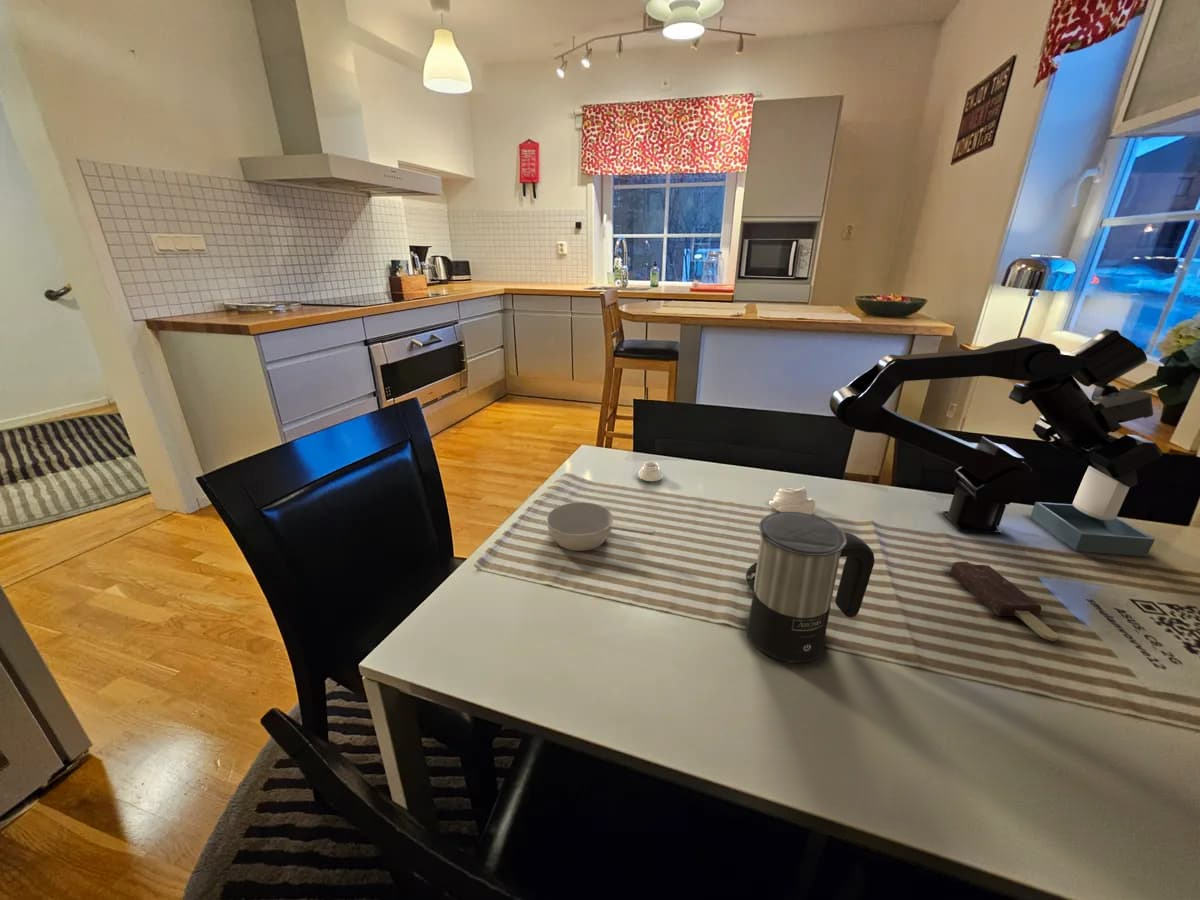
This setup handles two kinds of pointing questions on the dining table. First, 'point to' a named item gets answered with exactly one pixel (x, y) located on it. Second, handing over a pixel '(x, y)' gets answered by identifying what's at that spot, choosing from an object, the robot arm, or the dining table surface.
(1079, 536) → the blue-grey tray
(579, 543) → the small pan
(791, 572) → the milk frother
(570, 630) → the dining table surface
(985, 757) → the dining table surface
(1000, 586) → the ice cream bar
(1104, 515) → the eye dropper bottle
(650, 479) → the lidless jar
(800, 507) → the whipped cream
